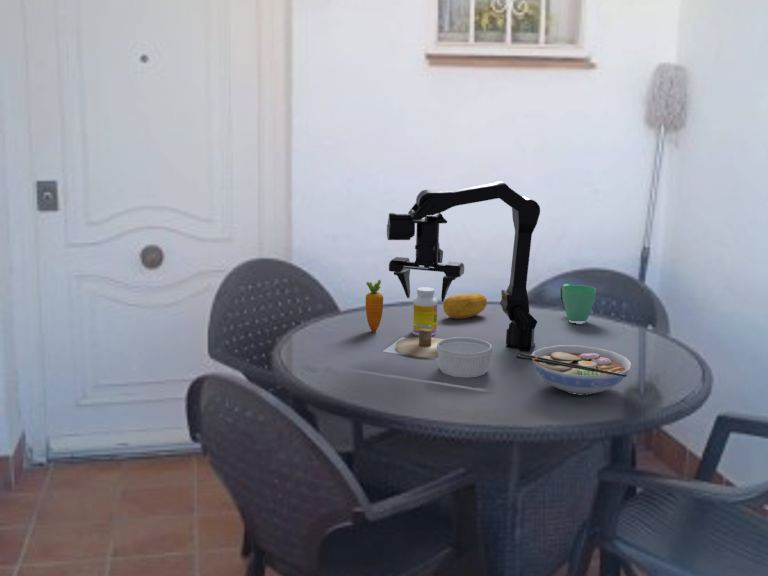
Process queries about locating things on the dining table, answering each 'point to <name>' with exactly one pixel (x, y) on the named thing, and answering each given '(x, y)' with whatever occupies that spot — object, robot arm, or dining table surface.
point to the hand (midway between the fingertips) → (425, 299)
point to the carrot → (374, 306)
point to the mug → (577, 301)
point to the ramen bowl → (579, 367)
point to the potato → (464, 305)
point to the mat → (393, 350)
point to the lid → (419, 345)
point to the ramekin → (464, 356)
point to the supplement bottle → (424, 311)
